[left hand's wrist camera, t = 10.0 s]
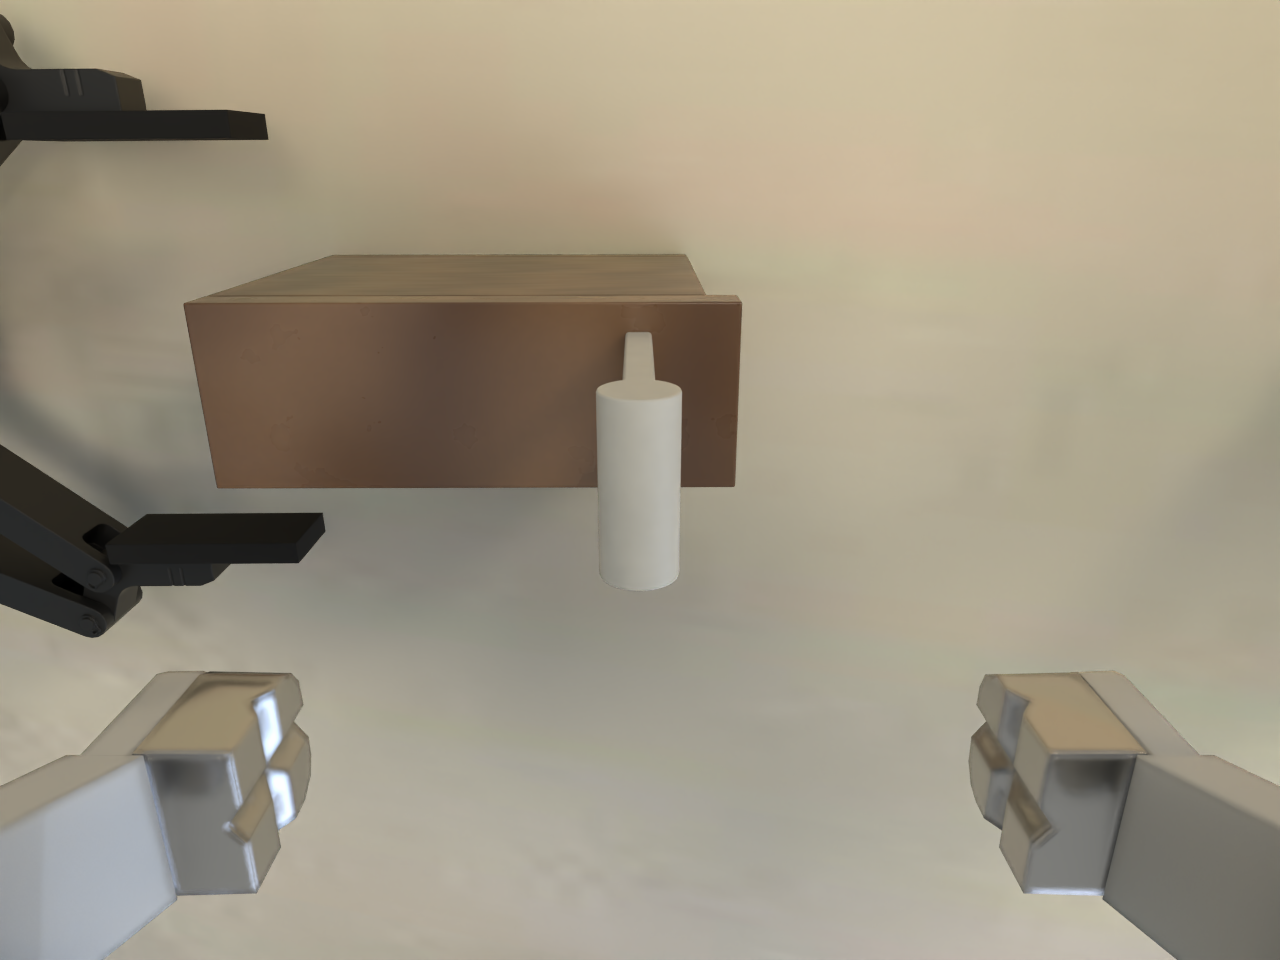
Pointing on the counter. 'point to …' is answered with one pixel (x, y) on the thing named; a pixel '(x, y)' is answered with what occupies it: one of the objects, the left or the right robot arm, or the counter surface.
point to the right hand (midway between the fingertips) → (284, 348)
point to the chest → (481, 276)
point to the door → (481, 401)
